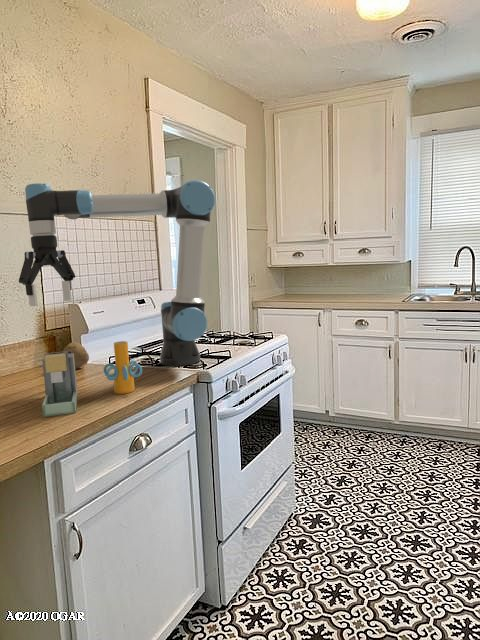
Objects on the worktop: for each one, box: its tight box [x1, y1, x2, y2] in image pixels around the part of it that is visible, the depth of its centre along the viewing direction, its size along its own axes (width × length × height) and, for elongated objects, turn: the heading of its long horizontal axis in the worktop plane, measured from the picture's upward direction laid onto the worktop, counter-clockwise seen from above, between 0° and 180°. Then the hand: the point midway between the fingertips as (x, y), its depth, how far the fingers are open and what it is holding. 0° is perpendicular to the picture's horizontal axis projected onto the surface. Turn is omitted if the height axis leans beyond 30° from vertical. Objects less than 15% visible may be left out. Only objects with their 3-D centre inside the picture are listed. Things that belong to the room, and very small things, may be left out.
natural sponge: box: [62, 341, 90, 370], centre depth 183 cm, size 9×9×10 cm
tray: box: [41, 392, 78, 418], centre depth 133 cm, size 8×11×3 cm
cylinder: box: [103, 340, 143, 395], centre depth 147 cm, size 12×10×15 cm
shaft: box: [49, 351, 72, 383], centre depth 140 cm, size 6×22×6 cm, turn 16°
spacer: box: [45, 353, 67, 373], centre depth 131 cm, size 5×4×4 cm
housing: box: [42, 351, 79, 404], centre depth 139 cm, size 8×9×15 cm
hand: (51, 303), depth 156 cm, fingers open, 13 cm apart
